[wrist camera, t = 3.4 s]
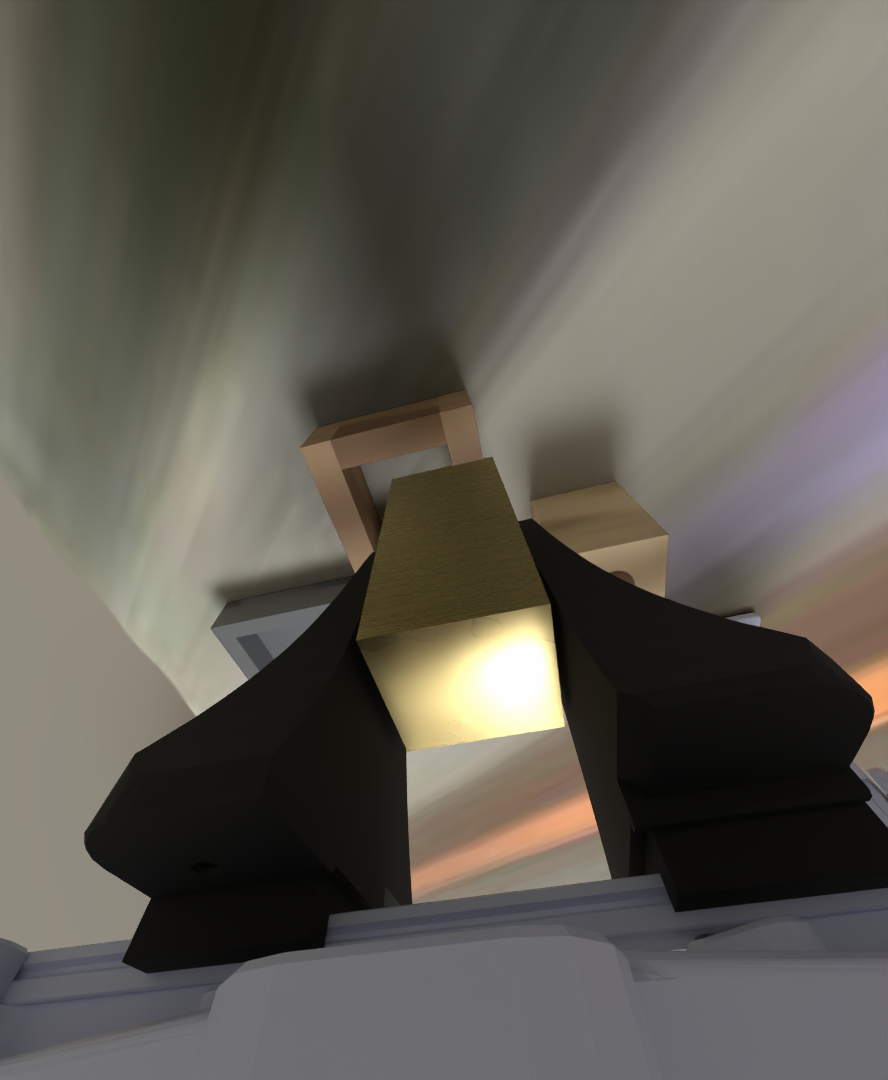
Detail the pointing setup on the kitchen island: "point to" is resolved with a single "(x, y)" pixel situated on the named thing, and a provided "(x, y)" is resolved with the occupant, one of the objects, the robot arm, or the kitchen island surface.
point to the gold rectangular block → (458, 613)
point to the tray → (271, 622)
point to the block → (608, 533)
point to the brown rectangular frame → (378, 438)
